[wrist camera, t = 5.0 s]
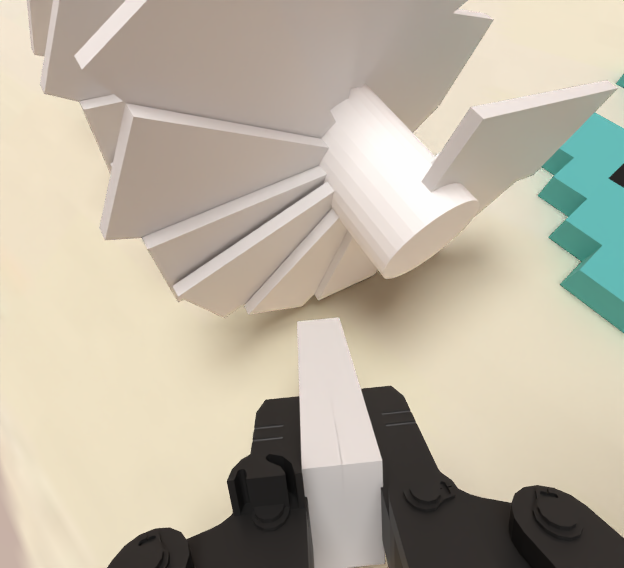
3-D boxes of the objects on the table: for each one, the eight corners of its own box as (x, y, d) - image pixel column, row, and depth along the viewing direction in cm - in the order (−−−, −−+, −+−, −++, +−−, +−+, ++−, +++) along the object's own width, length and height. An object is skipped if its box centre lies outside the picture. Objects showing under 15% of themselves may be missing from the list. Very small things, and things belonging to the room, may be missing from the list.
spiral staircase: (317, 370, 23) (160, 117, 31) (577, 183, 19) (321, -47, 28) (-65, 446, 6) (-184, -145, 14) (1376, -886, 3) (111, -651, 11)
